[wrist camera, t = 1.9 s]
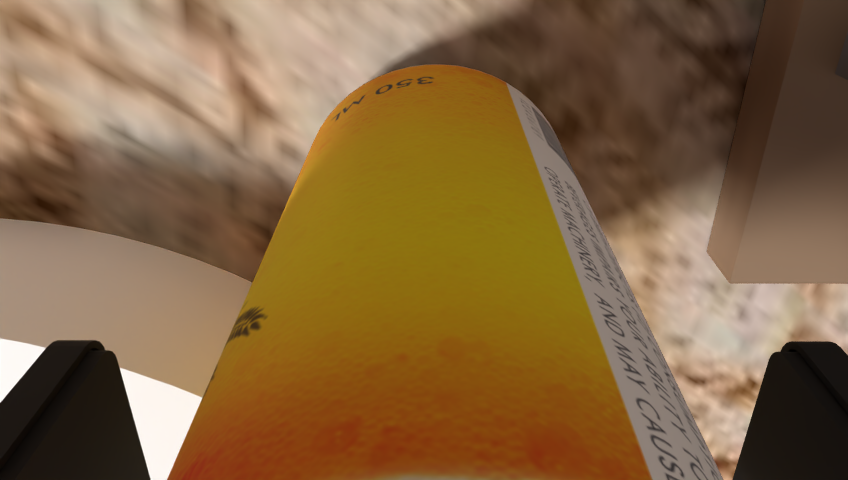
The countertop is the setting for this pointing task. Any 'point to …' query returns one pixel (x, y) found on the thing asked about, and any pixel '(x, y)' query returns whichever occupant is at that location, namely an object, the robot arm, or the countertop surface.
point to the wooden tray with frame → (789, 153)
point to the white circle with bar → (119, 319)
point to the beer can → (440, 312)
